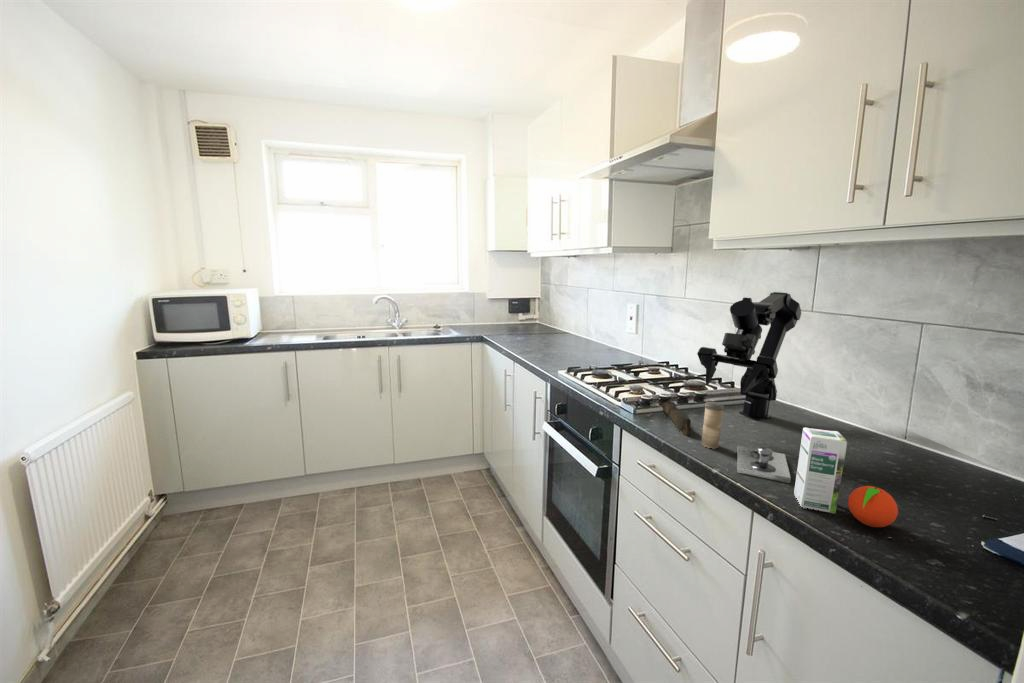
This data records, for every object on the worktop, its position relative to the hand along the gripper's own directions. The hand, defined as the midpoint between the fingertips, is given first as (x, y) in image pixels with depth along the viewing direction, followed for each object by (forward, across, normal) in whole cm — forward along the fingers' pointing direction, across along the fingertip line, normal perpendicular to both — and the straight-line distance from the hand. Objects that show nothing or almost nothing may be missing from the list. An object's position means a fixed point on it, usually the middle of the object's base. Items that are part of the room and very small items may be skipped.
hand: (724, 387), depth 114 cm
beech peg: (+14, 0, +6) cm, 15 cm away
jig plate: (+16, +13, +4) cm, 20 cm away
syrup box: (+23, +25, -3) cm, 34 cm away
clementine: (+24, +33, -4) cm, 41 cm away
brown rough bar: (+8, -12, +13) cm, 19 cm away
